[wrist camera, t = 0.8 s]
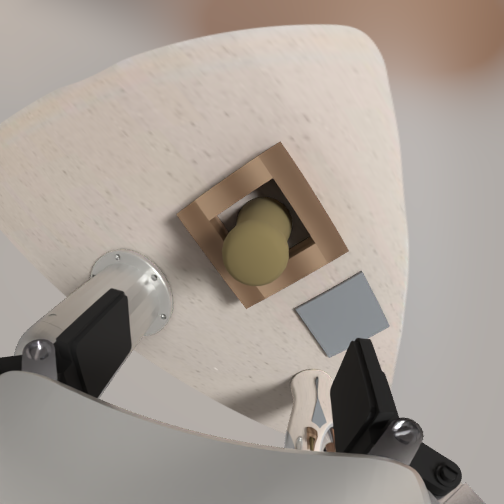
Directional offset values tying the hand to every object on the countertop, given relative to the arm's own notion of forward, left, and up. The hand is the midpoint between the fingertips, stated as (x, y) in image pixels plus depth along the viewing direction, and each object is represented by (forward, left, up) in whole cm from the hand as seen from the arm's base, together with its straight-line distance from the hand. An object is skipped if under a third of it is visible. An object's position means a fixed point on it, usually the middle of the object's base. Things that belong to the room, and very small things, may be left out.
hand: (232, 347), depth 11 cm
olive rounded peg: (-1, 0, -22) cm, 22 cm away
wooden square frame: (-1, 0, -22) cm, 22 cm away
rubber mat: (+1, -15, -22) cm, 26 cm away
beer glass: (-8, -23, -22) cm, 33 cm away
